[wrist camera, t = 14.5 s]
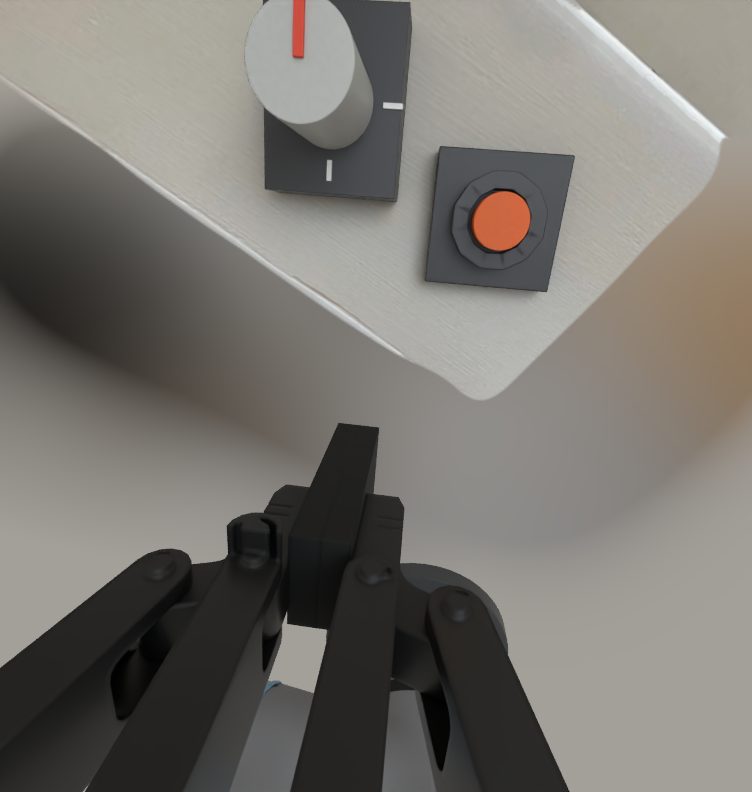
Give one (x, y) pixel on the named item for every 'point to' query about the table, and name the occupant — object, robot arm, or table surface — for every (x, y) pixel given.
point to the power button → (501, 221)
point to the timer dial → (309, 71)
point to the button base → (474, 181)
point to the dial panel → (382, 140)
